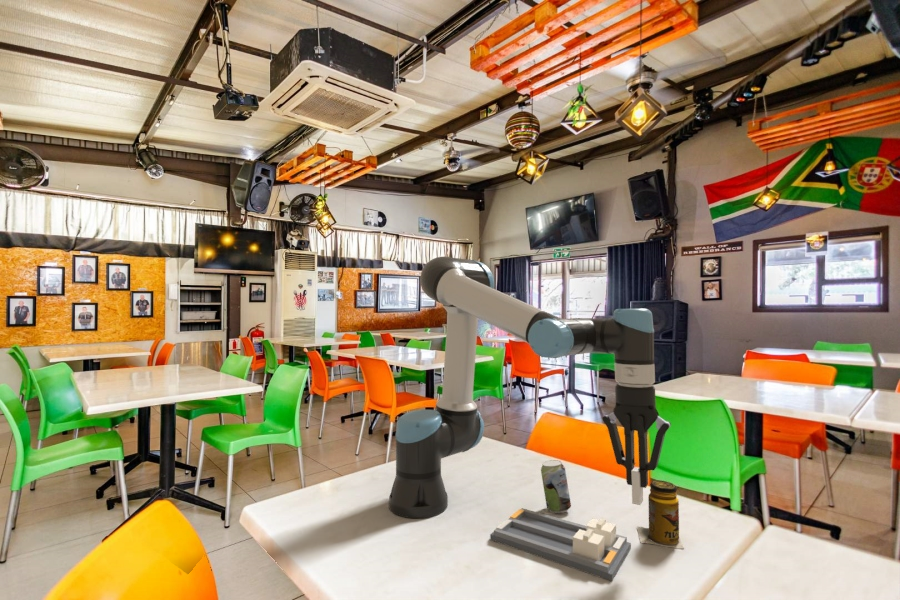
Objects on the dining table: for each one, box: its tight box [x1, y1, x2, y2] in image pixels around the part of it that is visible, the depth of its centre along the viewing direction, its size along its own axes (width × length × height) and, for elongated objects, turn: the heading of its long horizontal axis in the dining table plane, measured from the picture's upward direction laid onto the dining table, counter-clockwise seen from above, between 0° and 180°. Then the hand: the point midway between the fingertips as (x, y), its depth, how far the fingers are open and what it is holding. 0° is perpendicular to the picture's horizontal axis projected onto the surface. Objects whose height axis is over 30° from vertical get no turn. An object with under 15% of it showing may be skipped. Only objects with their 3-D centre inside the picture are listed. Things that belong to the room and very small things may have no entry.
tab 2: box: [585, 517, 617, 548], centre depth 94 cm, size 5×4×4 cm
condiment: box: [636, 480, 684, 550], centre depth 99 cm, size 7×8×12 cm
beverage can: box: [540, 459, 572, 514], centre depth 113 cm, size 6×7×12 cm
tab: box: [573, 529, 604, 561], centre depth 89 cm, size 5×4×4 cm
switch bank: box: [489, 508, 632, 582], centre depth 96 cm, size 26×14×2 cm, turn 55°
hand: (637, 501), depth 90 cm, fingers closed
